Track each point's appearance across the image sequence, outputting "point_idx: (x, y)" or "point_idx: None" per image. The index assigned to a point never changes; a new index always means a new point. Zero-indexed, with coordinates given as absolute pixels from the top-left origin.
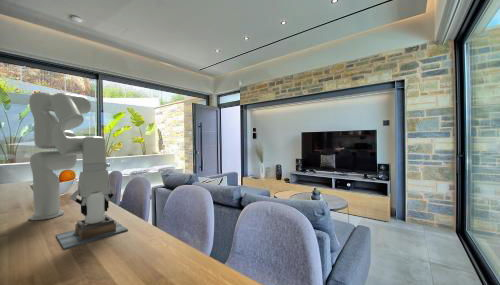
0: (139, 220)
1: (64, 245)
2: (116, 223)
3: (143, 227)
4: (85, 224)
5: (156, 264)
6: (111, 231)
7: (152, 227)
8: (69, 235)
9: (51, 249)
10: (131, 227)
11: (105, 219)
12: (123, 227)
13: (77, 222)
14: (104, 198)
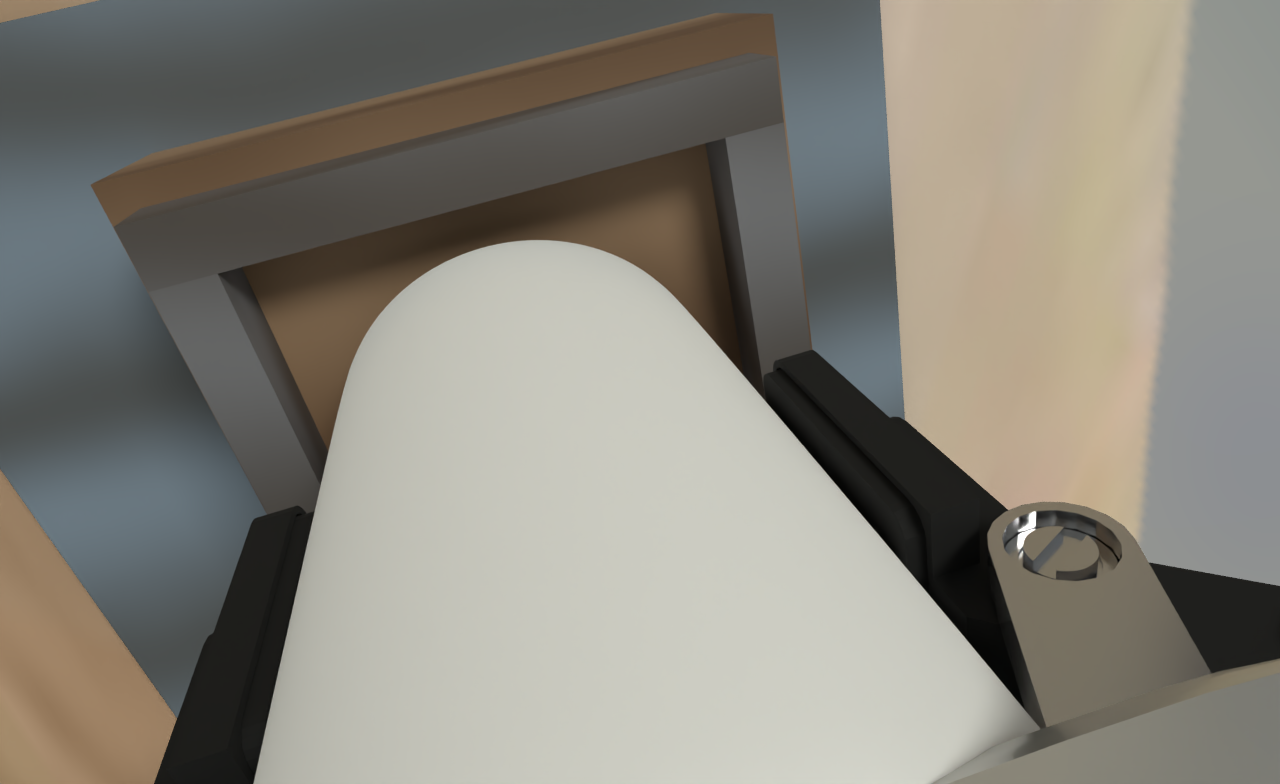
0: (1167, 123)
1: (173, 678)
2: (852, 122)
3: (1068, 468)
4: (347, 342)
5: None
6: None
7: (1131, 520)
8: (98, 315)
9: (15, 658)
10: (969, 388)
11: (718, 226)
12: (886, 404)
13: (143, 260)
14: (1008, 621)
